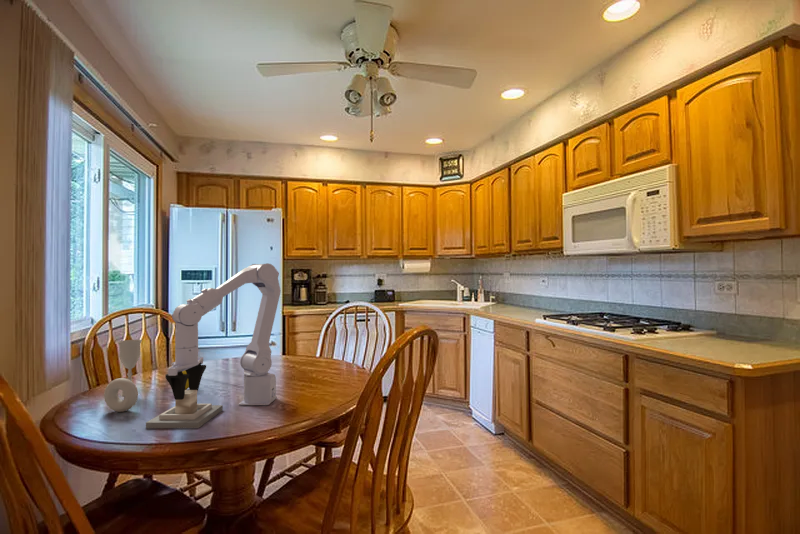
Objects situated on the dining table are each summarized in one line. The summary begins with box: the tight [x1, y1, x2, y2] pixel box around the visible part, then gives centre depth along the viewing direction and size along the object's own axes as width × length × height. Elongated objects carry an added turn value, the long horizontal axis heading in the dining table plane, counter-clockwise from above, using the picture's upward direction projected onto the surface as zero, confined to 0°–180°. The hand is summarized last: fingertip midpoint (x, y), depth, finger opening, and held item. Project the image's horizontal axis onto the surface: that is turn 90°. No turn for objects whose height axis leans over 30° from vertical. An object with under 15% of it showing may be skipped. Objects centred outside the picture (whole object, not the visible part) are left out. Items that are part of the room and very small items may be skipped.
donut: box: [103, 377, 139, 413], centre depth 119 cm, size 10×4×10 cm, turn 84°
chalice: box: [117, 339, 143, 397], centre depth 137 cm, size 7×7×18 cm
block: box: [174, 389, 198, 414], centre depth 113 cm, size 4×4×6 cm
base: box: [145, 403, 223, 429], centre depth 113 cm, size 14×14×3 cm
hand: (186, 395), depth 113 cm, fingers open, 7 cm apart
